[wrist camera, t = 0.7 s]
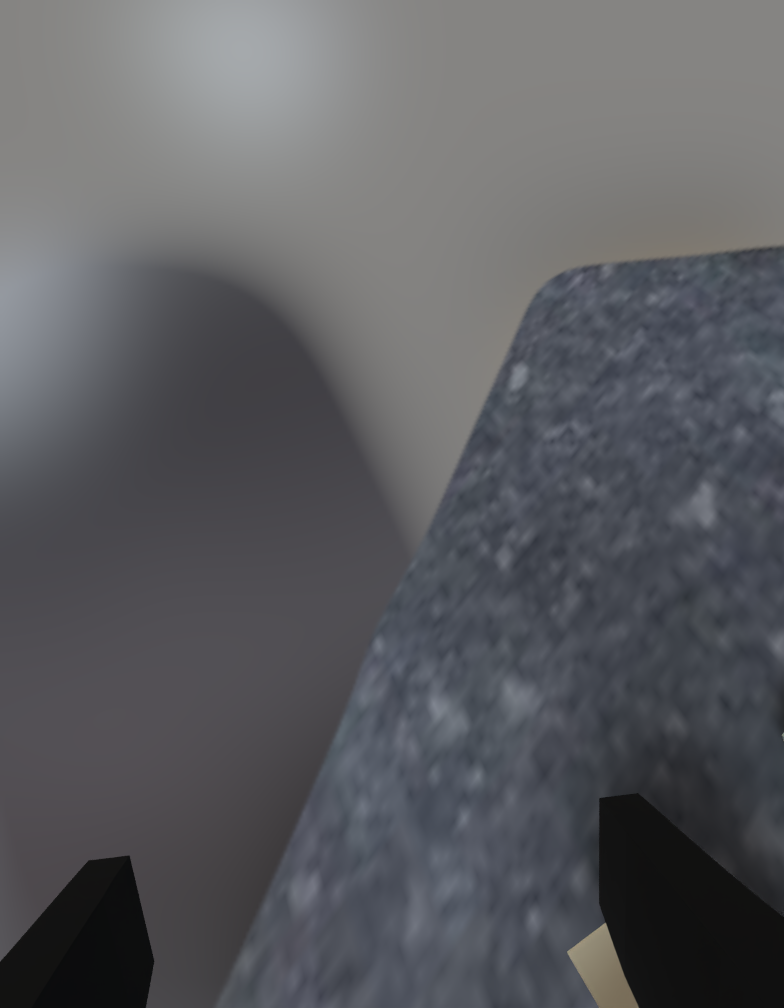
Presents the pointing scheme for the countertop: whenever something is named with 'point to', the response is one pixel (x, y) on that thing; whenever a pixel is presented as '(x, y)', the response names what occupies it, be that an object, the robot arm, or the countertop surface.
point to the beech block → (602, 970)
